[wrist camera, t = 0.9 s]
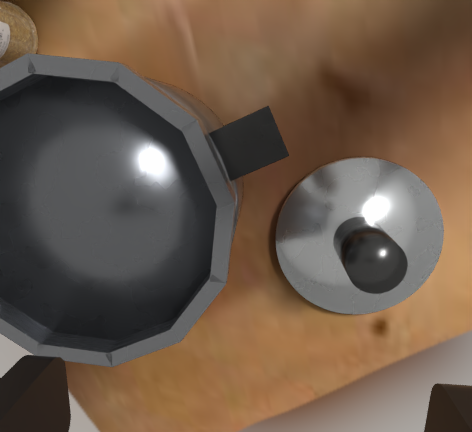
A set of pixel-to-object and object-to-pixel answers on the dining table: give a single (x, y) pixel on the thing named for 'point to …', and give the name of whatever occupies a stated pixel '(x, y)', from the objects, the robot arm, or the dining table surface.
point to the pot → (115, 206)
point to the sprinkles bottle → (15, 33)
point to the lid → (359, 235)
